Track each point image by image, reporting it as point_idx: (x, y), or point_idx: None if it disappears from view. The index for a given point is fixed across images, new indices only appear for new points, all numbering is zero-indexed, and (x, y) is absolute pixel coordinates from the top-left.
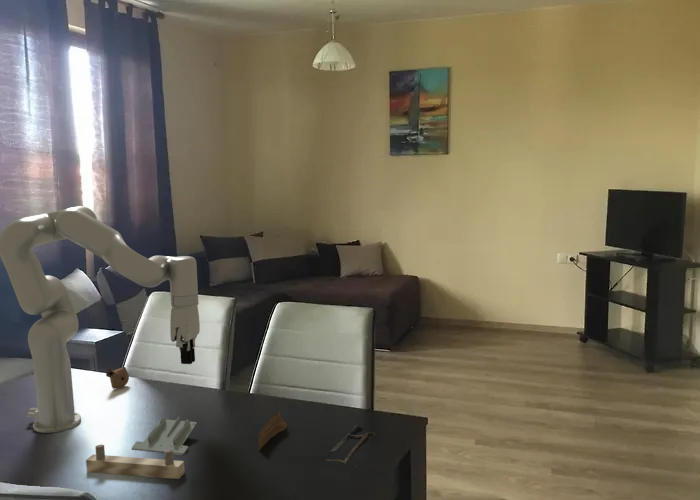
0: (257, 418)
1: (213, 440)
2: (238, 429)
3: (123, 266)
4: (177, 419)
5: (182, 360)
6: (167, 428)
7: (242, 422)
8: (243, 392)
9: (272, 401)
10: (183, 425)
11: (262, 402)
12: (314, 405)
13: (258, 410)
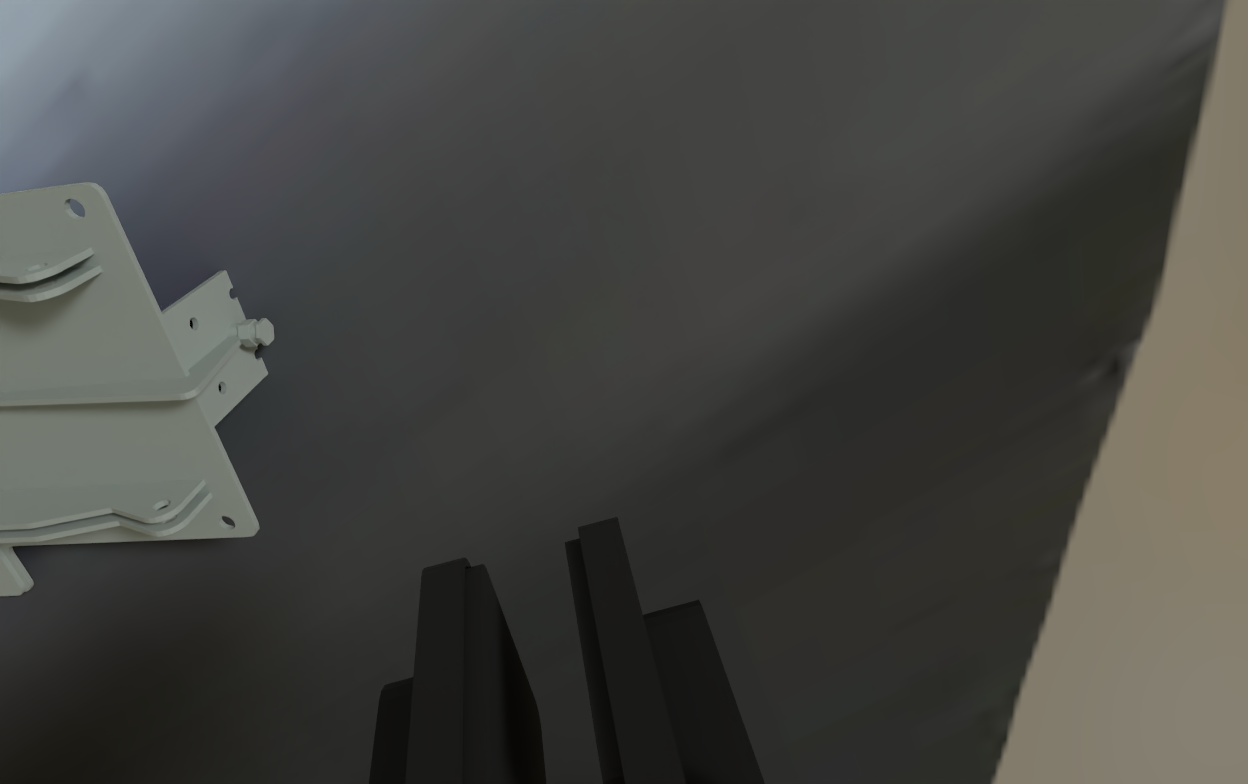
0: None
1: (267, 617)
2: None
3: None
4: (155, 399)
5: (383, 691)
6: (52, 338)
7: None
8: (1151, 290)
9: (989, 566)
10: (166, 454)
11: (963, 523)
12: (960, 771)
13: (822, 576)
